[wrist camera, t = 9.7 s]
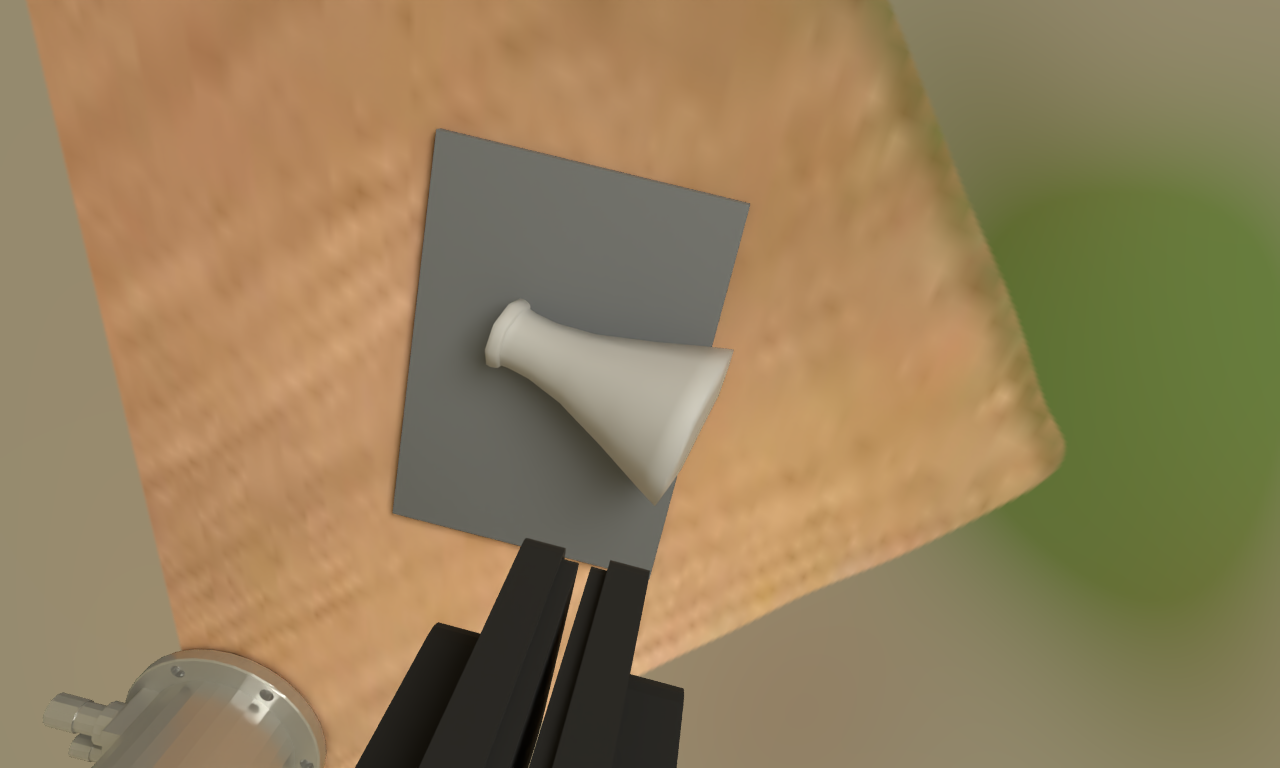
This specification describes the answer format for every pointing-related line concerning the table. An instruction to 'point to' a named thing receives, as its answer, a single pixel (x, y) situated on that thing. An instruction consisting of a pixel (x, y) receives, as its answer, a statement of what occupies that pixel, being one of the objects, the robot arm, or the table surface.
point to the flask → (617, 389)
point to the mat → (568, 295)
